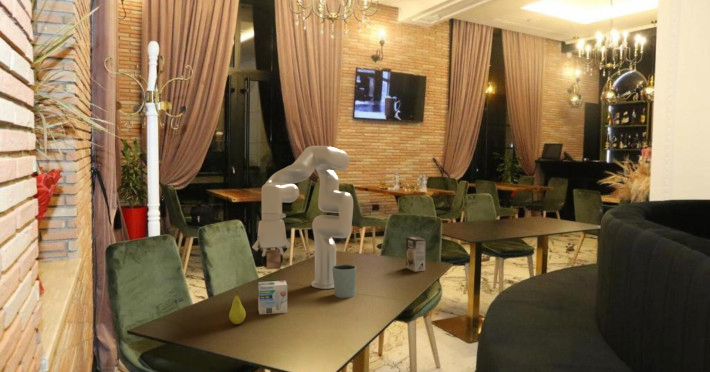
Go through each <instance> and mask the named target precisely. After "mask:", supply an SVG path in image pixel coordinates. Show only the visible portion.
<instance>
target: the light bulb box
mask: <svg viewBox="0 0 710 372" xmlns="http://www.w3.org/2000/svg"><path fill="white" fill-rule="evenodd" d="M257 292H258V293H257V296H258V297H257V299H258V300H257V303H258V304H257V306H258V308H257V310H258V313H259V315H270V314H271V315H272V314H286V313H288V284H287V281H286V280H274V281H273V280H272V281H259V282H258V283H257Z"/></svg>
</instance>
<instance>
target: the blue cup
mask: <svg viewBox="0 0 710 372" xmlns="http://www.w3.org/2000/svg"><path fill="white" fill-rule="evenodd" d="M332 270H333V279H334V288H333V290H334V291H333V292H334V293H333V294H334V297H337V298H340V299H345V298H346V299H347V298H349V299H350V298H353V297H355V296H356V282H357V280H356V279H357V266H356V265H354V264H344V263H343V264H336V265H335V266H333V267H332Z"/></svg>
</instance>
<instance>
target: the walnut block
mask: <svg viewBox="0 0 710 372" xmlns="http://www.w3.org/2000/svg"><path fill="white" fill-rule="evenodd" d="M266 257H267V266H266V267H264V269H266V270H276V269H281V267H282V263H281V262H280V252H279V251H278V249H270V250H268V249H267V251H266Z"/></svg>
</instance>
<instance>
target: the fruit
mask: <svg viewBox="0 0 710 372" xmlns="http://www.w3.org/2000/svg"><path fill="white" fill-rule="evenodd" d="M238 293H239V291H237V292H236V294H235V296H234V298H233V299H232V300H233V301H232V304H231V308H230V310H229V315H228V317H229V318H228V319H229V320H230V321H231V323H232V324H234V325H240V324H241V323H243V322H244V320H245V319H246V315H247V313H246V310H245V308H244V306H243V304H242V302H241V299H240V297H239V295H238Z"/></svg>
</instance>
